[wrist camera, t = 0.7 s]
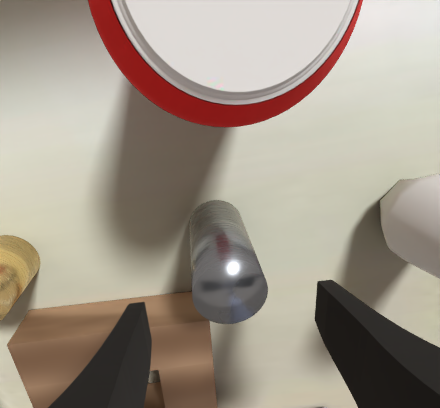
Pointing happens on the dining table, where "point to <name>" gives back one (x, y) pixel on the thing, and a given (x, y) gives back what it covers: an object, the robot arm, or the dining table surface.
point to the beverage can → (225, 52)
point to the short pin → (15, 270)
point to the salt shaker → (414, 221)
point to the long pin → (224, 265)
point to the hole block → (99, 331)
